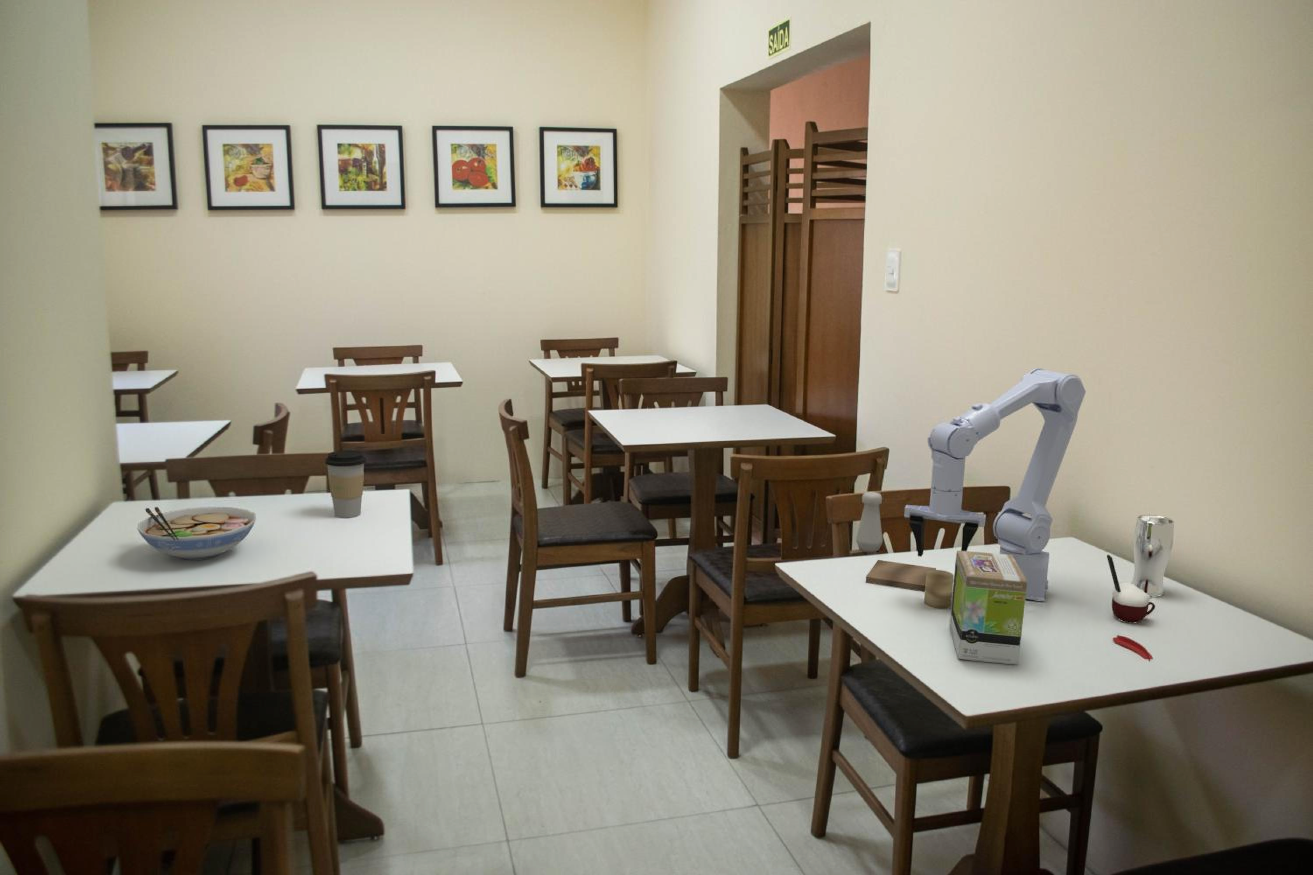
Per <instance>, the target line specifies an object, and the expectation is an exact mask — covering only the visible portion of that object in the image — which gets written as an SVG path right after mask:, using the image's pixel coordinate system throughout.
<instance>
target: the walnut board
mask: <svg viewBox="0 0 1313 875" xmlns="http://www.w3.org/2000/svg"><path fill="white" fill-rule="evenodd" d="M930 570H937V568H936V567H930V566H923V565H917V564H916V565H915V564H910V563H902V562H894V561H889V560H882V559H877V561H876V562H875V564H874V565H873V566H872V568H871V569H870V571H869V572H868V574H866V577H865V583H866V584H874V585H881V586H885V587H887V586H888V587H894V588H900V589H906V590H913V591H920V592H925V584H926V572H927V571H930Z"/></svg>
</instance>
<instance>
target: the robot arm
mask: <svg viewBox="0 0 1313 875" xmlns="http://www.w3.org/2000/svg"><path fill="white" fill-rule="evenodd" d="M1086 393H1087V391H1086V389H1085V386H1084V384H1083V382H1082V380H1081V378H1080V376H1078V375H1076V374H1073V373H1064V372H1057V371H1052V370H1047V369H1044V368H1039V367H1038V368H1034V369H1032V370H1030V371H1029V372H1028V373H1025V374H1024V375H1022V376H1021V380H1020V382H1018V383H1017V384H1015V385H1014V386H1013V387H1012V388H1010V389H1009V390H1008V391H1006V392H1005V393H1003V394H1002V395H1001V396H1000V397H998V398H997V399H996V400H993V402H991V403H990V404H988V403H986V402H981V403H980V402H979V403H978V402H976V403H974V404H973V405H971V408H970V409H968V411H966V412H964V413H963V414H961V415H959V416H955V417H953V419H952V420H951V421H949V423H948V422H941V423H939V424H937V425H936V426H934V428H932V430H931V432H930V434H929V436H928V437H927V445H928V447H929V449H930V450H931V451H930V452H931V459H932V470H931V472H932V473H931V482H930V497H929V505H910V504H906V505H905V506H904V513H903V514H904V515H903V516H904V518H909V521H908V524H909V527H910V529H911V532H912V534H913V537H914V541H915V545H916V550H917V557H919V558H920V557H921V558H922V556H923V555H924V549H925V548H924V547H925V546H924V545H925V543H924V542H925V528H926V521H927V520H933V521H941V522H950V523H957V524H964V525H963V526H962V532H961V533H962V535H961V538H962V539H961V549H960V551H968V549H969V546H970V543H971V541H972V540H973V538H974V536H975V535H976V533H977V531H978V529H979V527H981V528H984V527H985V525H986V519H987V515H986V514H983V513H976V512H972V511H968V510H964V509H962V505H963V504H962V502H963V492H964V479H965V468H966V457H969V456H970V455H971V453H972V452H973V450H974V448H975V446H976V445H977V444H978V442H979V441H981V440H983V439H984V438H986V437H987V436H989V435H990V434H992V433H993V432H995V431H997V430H998V429H999V428H1000V425H1001V420H1002V419H1004V418H1006V417H1009V416H1010V415H1012V414H1013V413H1015V412H1017V411H1019V410H1021V409H1023V408H1025V407H1026V406H1029V405H1030V404H1033V406H1034V407H1035V408H1036V409H1037V410H1038V411H1039V413H1041V416H1042V417H1043V420H1044V423H1043V426H1042V428H1041V431H1040V433H1039V436H1038V439H1037V442H1036V443H1035V444H1036V445H1035V447H1034V451H1033V453H1032V456H1031V458H1030V461H1029V464H1028V467H1027V468H1026V471H1025V475H1024V477H1023V480H1022V483H1021V484H1020V485H1021V486H1020V488H1019V491H1018V493H1017V496H1015V497H1013V498H1011V499H1009V500H1007V501H1006V502H1004V504H1003V507H1002V510H1001V511H1000V512H999V513H998V514H997V515H996V517H995V518H994V521H993V525H992V532H993V535H994V537H995V538H996V539H997V545H998V546H1000V547H999V554H1007V555H1013V557H1014V559H1015V560H1016V562H1017V564H1018V566H1019V567H1020V569H1021V571H1022V573H1023V574H1024V576H1025V578H1026V581H1027V590H1026V599H1025V600H1031V601H1038V602H1044V601H1045V598H1046V597H1045V596H1046V591H1047V590H1048V588H1049V580H1048V574H1049V573H1048V572H1049V563H1050V552H1048V551H1043V550H1044V549H1045V548H1046V546H1047V545H1048V543H1049V542H1050V541H1049V540H1050V536H1051V526H1052V523H1053V517H1052V516H1051V514H1050V512H1049V510H1048V509H1047V506H1046V504H1047V502H1048V499H1049V497H1050V494H1051V492H1052V490H1053V486H1054V483H1055V481H1056V478H1057V475H1058V473H1059V470H1060V467H1061V465H1062V462H1063V459H1064V457H1065V454H1066V451H1067V449H1068V445H1069V443H1070V441H1071V437H1072V435H1073V433H1074V430H1075V428H1076V425H1077V421H1078V414H1079V411H1080V409H1081V406H1082V404H1083V400H1084V397H1085V395H1086ZM1024 514H1026V515H1029V516H1026V515H1024Z"/></svg>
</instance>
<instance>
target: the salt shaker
mask: <svg viewBox="0 0 1313 875" xmlns="http://www.w3.org/2000/svg"><path fill="white" fill-rule="evenodd" d="M882 500H883V497H882V494H881V493H879V492H877V491H865V492H863V493H862V496H861V502H862V503H863V509H862V513H861V516H860V521H859V522H860V523H859V526H858V530H857V533H856V537H855V538H856V539H855V541H856V544H857V547H858V550H860V551H862V552H864V553H876V552H879V550H880V548H881V546H882V544H883V541H884V540H883V533H882V532H883V531H882V523H881V513H880V505H881V504H882Z"/></svg>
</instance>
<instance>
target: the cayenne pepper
mask: <svg viewBox="0 0 1313 875" xmlns="http://www.w3.org/2000/svg"><path fill="white" fill-rule="evenodd" d="M1112 641H1113V643H1114V644H1116V645H1118V646H1119V647H1122V648H1124V649H1126V650H1129V651H1131V652H1133V653H1135V654H1136V655H1138V656H1140V657H1141V658H1143V659H1144V660H1148V662H1150V661H1151V660H1154V658H1153V655H1152V654H1151V653H1149V651H1148V650H1147V648H1146V647H1145V646H1143V645H1142V644H1141V643H1139V642H1137V641H1136V640H1134V639H1132V638H1129V637H1127V636H1124V635H1123V636H1122V635H1120V634H1117V635H1116V637H1113V638H1112Z"/></svg>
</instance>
